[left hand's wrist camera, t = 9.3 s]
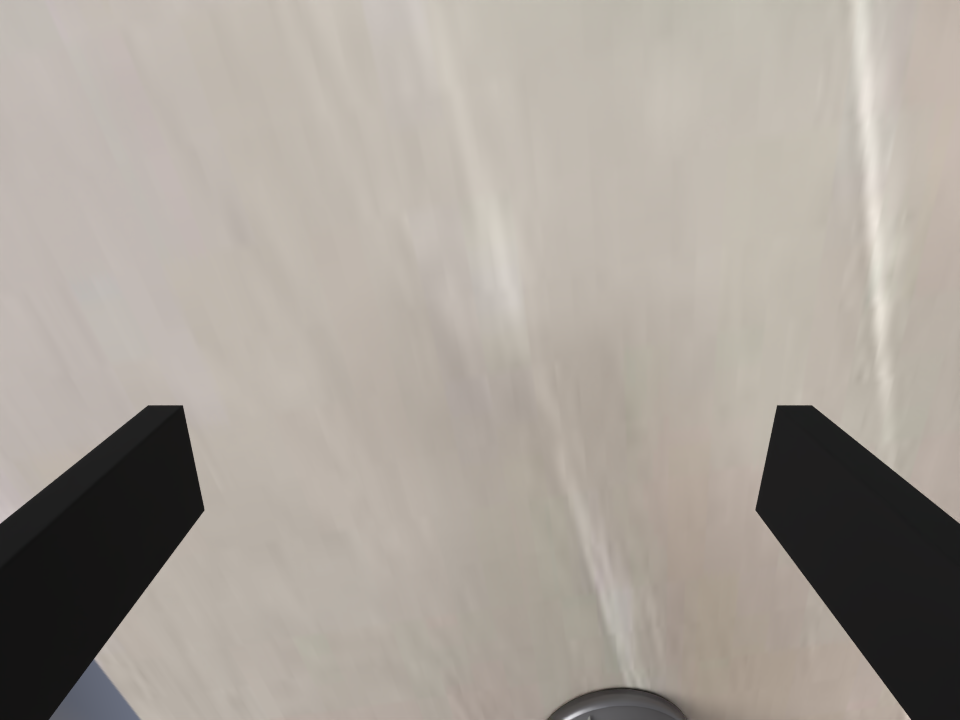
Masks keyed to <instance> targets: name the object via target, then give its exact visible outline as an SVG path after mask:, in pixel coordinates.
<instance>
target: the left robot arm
mask: <svg viewBox="0 0 960 720" xmlns="http://www.w3.org/2000/svg"><path fill="white" fill-rule="evenodd" d="M203 512H204V505H203V500H202V495H201V491H200V486H199V481H198V476H197V471H196V467H195V462H194V457H193V452H192V447H191V442H190V438H189V433H188V428H187V423H186V418H185V414H184V409H183V405H148V406H147V407H146V408H144V409H143V410H142V411H141V412H139V413H138V414H137V415H136V416H134V417H133V418H132V419H131V420H129V421H128V422H127V423H126V424H124V425H123V426H122V427H121V428H119V429H118V430H117V431H116V432H114V433H113V434H112V435H111V436H109V437H108V438H107V439H106V440H104V441H103V442H102V443H101V444H99V445H98V446H97V447H96V448H94V449H93V450H92V451H91V452H89V453H88V454H87V455H86V456H84V457H83V458H82V459H81V460H79V461H78V462H77V463H76V464H74V465H73V466H72V467H71V468H69V469H68V470H67V471H66V472H64V473H63V474H62V475H61V476H59V477H58V478H57V479H56V480H54V481H53V482H52V483H51V484H49V485H48V486H47V487H46V488H44V489H43V490H42V491H41V492H39V493H38V494H37V495H36V496H34V497H33V498H32V499H31V500H29V501H28V502H27V503H26V504H24V505H23V506H22V507H21V508H19V509H18V510H17V511H16V512H14V513H13V514H12V515H11V516H9V517H8V518H7V519H6V520H4V521H3V522H2V523H1V524H0V720H49V719H50V717H51V716H52V715H53V713H54V712H55V710H56V709H57V708H58V706H59V705H60V704H61V702H62V701H63V700H64V698H65V697H66V696H67V694H68V693H69V692H70V690H71V689H72V688H73V686H74V685H75V684H76V682H77V681H78V679H79V678H80V677H81V676H82V674H83V673H84V671H85V670H86V669H87V667H88V666H89V665H90V663H91V662H92V661H93V659H94V658H95V657H96V655H97V654H98V653H99V651H100V650H101V649H102V647H103V646H104V645H105V643H106V642H107V641H108V639H109V638H110V637H111V635H112V634H113V633H114V631H115V630H116V628H117V627H118V626H119V624H120V623H121V622H122V620H123V619H124V618H125V616H126V615H127V614H128V612H129V611H130V610H131V608H132V607H133V606H134V604H135V603H136V602H137V600H138V599H139V598H140V596H141V595H142V594H143V592H144V591H145V589H146V588H147V587H148V585H149V584H150V583H151V581H152V580H153V579H154V577H155V576H156V575H157V573H158V572H159V571H160V569H161V568H162V567H163V565H164V564H165V563H166V561H167V560H168V559H169V557H170V556H171V555H172V553H173V552H174V550H175V549H176V548H177V546H178V545H179V544H180V542H181V541H182V540H183V538H184V537H185V536H186V534H187V533H188V532H189V530H190V529H191V528H192V526H193V525H194V524H195V522H196V521H197V520H198V518H199V517H200V516H201V514H202V513H203ZM756 512H757V513H758V514H759V516H760V517H761V518H762V520H763V521H764V522H765V524H766V525H767V526H768V528H769V529H770V530H771V532H772V533H773V534H774V536H775V537H776V538H777V540H778V541H779V542H780V544H781V545H782V546H783V548H784V549H785V550H786V552H787V553H788V555H789V556H790V557H791V559H792V560H793V561H794V563H795V564H796V565H797V567H798V568H799V569H800V571H801V572H802V573H803V575H804V576H805V577H806V579H807V580H808V581H809V583H810V584H811V585H812V587H813V588H814V589H815V591H816V592H817V594H818V595H819V596H820V598H821V599H822V600H823V602H824V603H825V604H826V606H827V607H828V608H829V610H830V611H831V612H832V614H833V615H834V616H835V618H836V619H837V620H838V622H839V623H840V624H841V626H842V627H843V628H844V630H845V631H846V633H847V634H848V635H849V637H850V638H851V639H852V641H853V642H854V643H855V645H856V646H857V647H858V649H859V650H860V651H861V653H862V654H863V655H864V657H865V658H866V659H867V661H868V662H869V663H870V665H871V666H872V667H873V669H874V670H875V671H876V673H877V674H878V676H879V677H880V678H881V680H882V681H883V682H884V684H885V685H886V686H887V688H888V689H889V690H890V692H891V693H892V694H893V696H894V697H895V698H896V700H897V701H898V702H899V704H900V705H901V706H902V708H903V709H904V710H905V712H906V713H907V715H908V716H909V717H910V719H911V720H960V524H959V523H958V522H957V521H956V520H954V519H953V518H952V517H951V516H949V515H948V514H947V513H946V512H944V511H943V510H942V509H941V508H939V507H938V506H937V505H936V504H934V503H933V502H932V501H931V500H929V499H928V498H927V497H926V496H924V495H923V494H922V493H921V492H919V491H918V490H917V489H916V488H914V487H913V486H912V485H911V484H909V483H908V482H907V481H906V480H904V479H903V478H902V477H901V476H899V475H898V474H897V473H896V472H894V471H893V470H892V469H891V468H889V467H888V466H887V465H886V464H884V463H883V462H882V461H881V460H879V459H878V458H877V457H876V456H874V455H873V454H872V453H871V452H869V451H868V450H867V449H866V448H864V447H863V446H862V445H861V444H859V443H858V442H857V441H856V440H854V439H853V438H852V437H851V436H849V435H848V434H847V433H846V432H844V431H843V430H842V429H841V428H839V427H838V426H837V425H836V424H834V423H833V422H832V421H831V420H829V419H828V418H827V417H826V416H824V415H823V414H822V413H821V412H819V411H818V410H817V409H816V408H814V407H813V406H812V405H777V409H776V414H775V418H774V423H773V428H772V433H771V438H770V442H769V447H768V452H767V457H766V462H765V467H764V471H763V476H762V481H761V486H760V491H759V495H758V500H757V505H756ZM548 720H687V719H686V717H685V716H684V714H683V713H682V712H681V711H680V710H679V709H678V708H677V707H676V706H675V705H673V704H672V703H671V702H669V701H667V700H666V699H664V698H662V697H659V696H657V695H654V694H651V693H648V692H644V691H639V690H631V689H611V690H603V691H598V692H594V693H590V694H587V695H584V696H581V697H579V698H576V699H574V700H572V701H570V702H568V703H567V704H565V705H563V706H562V707H561V708H559V709H558V710H557V711H556V712H554V713H553V714H552V715H551V716H550V717H549V719H548Z"/></svg>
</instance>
